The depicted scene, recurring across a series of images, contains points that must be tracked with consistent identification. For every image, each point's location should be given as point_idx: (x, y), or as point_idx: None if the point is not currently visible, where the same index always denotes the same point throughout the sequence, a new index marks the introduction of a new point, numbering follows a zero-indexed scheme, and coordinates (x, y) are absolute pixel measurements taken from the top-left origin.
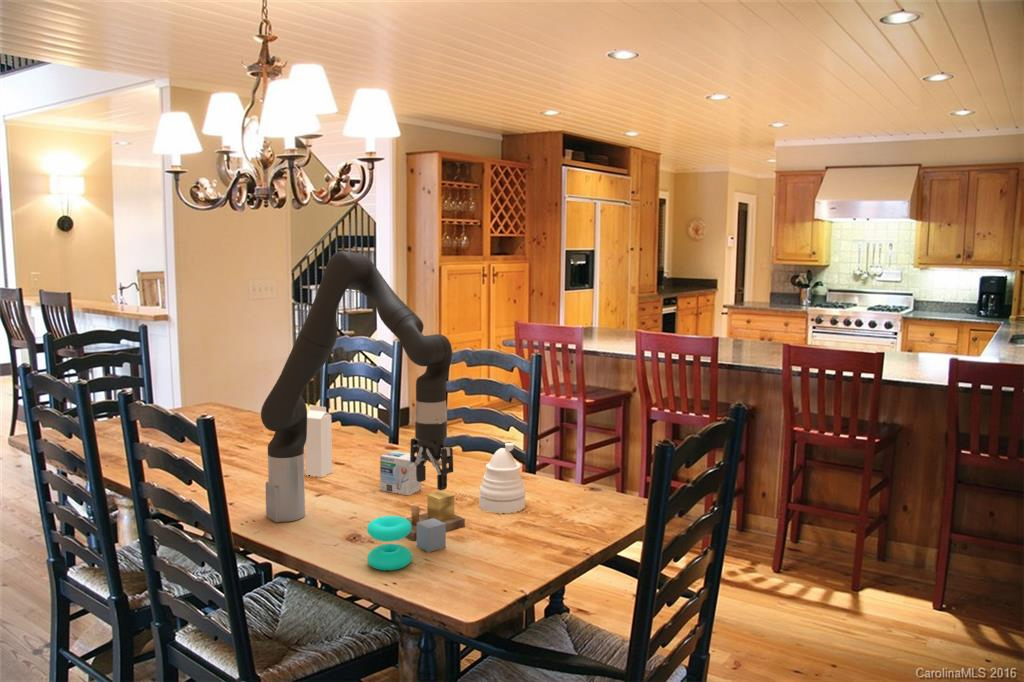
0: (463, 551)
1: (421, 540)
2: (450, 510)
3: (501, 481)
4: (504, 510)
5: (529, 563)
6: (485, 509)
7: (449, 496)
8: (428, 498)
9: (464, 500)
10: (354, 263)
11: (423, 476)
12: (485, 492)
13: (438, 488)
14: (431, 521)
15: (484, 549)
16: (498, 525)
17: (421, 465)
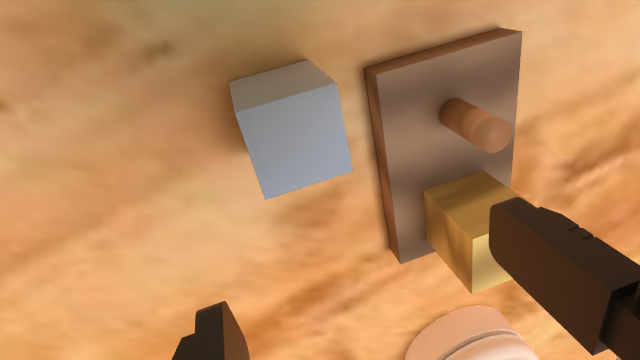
0: (196, 198)
1: (281, 76)
2: (441, 245)
3: None
4: (415, 351)
5: (29, 342)
6: (453, 315)
7: (472, 278)
8: None
9: None
10: None
11: (515, 264)
12: (484, 355)
13: (204, 313)
14: (318, 152)
15: (190, 257)
16: (349, 321)
17: (618, 333)
